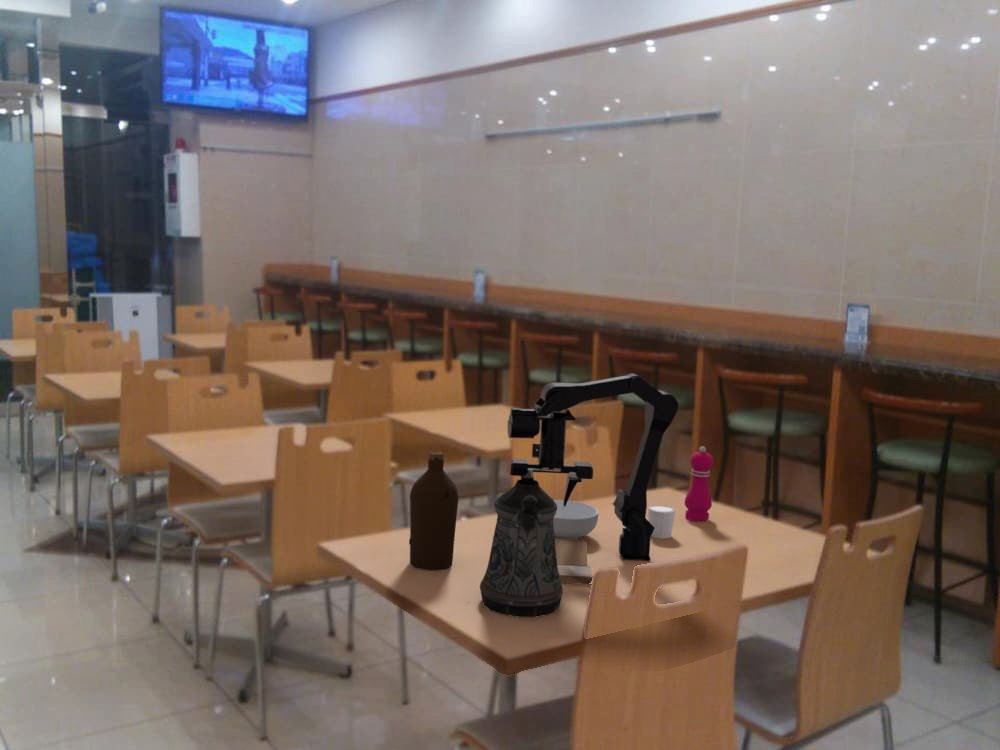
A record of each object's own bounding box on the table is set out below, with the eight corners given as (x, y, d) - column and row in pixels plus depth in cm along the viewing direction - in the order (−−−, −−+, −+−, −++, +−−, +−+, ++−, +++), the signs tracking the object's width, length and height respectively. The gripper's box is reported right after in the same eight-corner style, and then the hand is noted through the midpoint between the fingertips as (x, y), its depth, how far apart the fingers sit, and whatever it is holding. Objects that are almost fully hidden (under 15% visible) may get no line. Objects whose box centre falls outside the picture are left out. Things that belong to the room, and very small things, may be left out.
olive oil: (463, 561, 225) (468, 452, 222) (441, 574, 215) (447, 460, 212) (421, 553, 229) (426, 445, 226) (398, 565, 219) (403, 453, 216)
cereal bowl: (514, 532, 250) (516, 504, 249) (562, 523, 261) (563, 496, 260) (563, 550, 238) (565, 521, 237) (610, 539, 249) (612, 511, 248)
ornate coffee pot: (535, 585, 212) (542, 469, 209) (585, 617, 195) (594, 491, 192) (465, 594, 204) (471, 473, 201) (511, 628, 187) (519, 497, 184)
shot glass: (678, 538, 253) (680, 511, 252) (654, 540, 250) (657, 512, 249) (664, 530, 259) (666, 504, 258) (641, 532, 256) (643, 505, 256)
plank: (585, 544, 228) (586, 540, 226) (586, 569, 222) (587, 565, 221) (510, 540, 227) (511, 536, 226) (510, 565, 222) (510, 561, 221)
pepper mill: (678, 515, 275) (684, 443, 272) (702, 514, 277) (708, 443, 275) (691, 522, 268) (697, 449, 266) (715, 522, 270) (721, 449, 268)
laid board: (589, 573, 221) (589, 566, 221) (592, 584, 214) (593, 576, 214) (507, 569, 221) (508, 562, 221) (508, 580, 214) (508, 572, 214)
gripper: (590, 434, 237) (586, 498, 239) (511, 430, 237) (508, 494, 239) (595, 443, 226) (590, 510, 228) (512, 439, 226) (508, 507, 228)
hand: (549, 505), depth 231 cm, fingers open, 7 cm apart
